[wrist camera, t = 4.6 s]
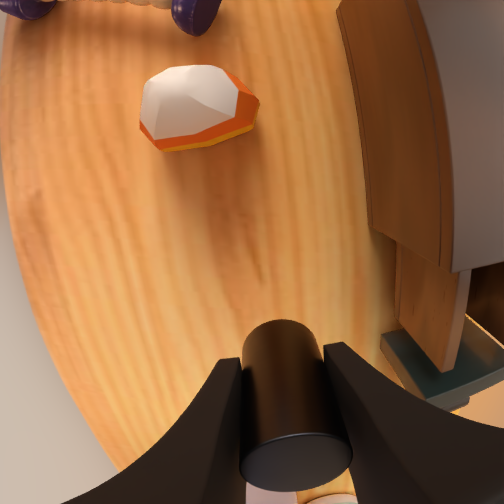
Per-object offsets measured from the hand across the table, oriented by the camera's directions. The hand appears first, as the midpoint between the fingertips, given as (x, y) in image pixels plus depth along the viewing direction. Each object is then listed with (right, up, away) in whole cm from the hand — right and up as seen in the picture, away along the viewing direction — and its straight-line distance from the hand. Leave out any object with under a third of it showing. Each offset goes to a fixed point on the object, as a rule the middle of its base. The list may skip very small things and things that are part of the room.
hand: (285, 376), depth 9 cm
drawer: (+10, +2, +8) cm, 14 cm away
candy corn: (-4, +11, +7) cm, 13 cm away
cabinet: (+9, +12, +6) cm, 17 cm away
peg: (0, 0, +1) cm, 1 cm away
